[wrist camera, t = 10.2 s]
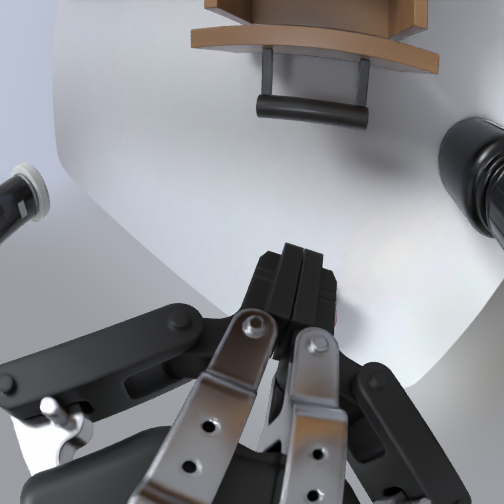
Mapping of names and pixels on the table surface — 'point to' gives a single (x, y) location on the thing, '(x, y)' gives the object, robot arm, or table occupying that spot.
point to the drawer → (321, 46)
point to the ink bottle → (476, 174)
